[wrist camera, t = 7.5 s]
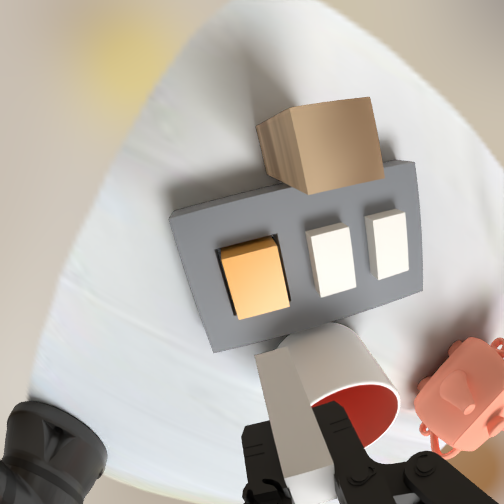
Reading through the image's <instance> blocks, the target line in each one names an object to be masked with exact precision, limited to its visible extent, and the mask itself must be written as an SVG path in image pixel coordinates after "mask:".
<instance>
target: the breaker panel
mask: <svg viewBox="0 0 504 504" xmlns="http://www.w3.org/2000/svg"><path fill="white" fill-rule="evenodd" d="M383 168H384V175H385V178H384V179H379V180H374V181H370V182H365V183H360V184H356V185H351V186H346V187H342V188H337V189H333V190H328V191H324V192H320V193H315V194H311V195H307V194H305V193H303V192H301V191H299V190H297V189H295V188H293V187H291V186H289V185H287V184H285V183H281V184H277V185H273V186H268V187H264V188H260V189H256V190H252V191H248V192H244V193H240V194H236V195H232V196H228V197H224V198H220V199H216V200H212V201H209V202H205V203H201V204H197V205H194V206H190V207H186V208H183V209H179V210H176V211H173V213H172V214H171V216H170V218H169V222H170V225H171V228H172V232H173V235H174V238H175V241H176V245H177V248H178V251H179V254H180V257H181V260H182V264H183V267H184V270H185V273H186V276H187V279H188V282H189V285H190V288H191V291H192V294H193V297H194V300H195V303H196V306H197V308H198V311H199V314H200V317H201V320H202V323H203V325H204V328H205V331H206V334H207V337H208V339H209V342H210V345H211V347H212V350H213V353H216V352H221V351H225V350H229V349H234V348H238V347H242V346H246V345H250V344H254V343H258V342H262V341H266V340H269V339H273V338H277V337H281V336H284V335H288V334H292V333H295V332H299V331H302V330H306V329H309V328H313V327H316V326H319V325H323V324H326V323H329V322H333V321H336V320H339V319H342V318H345V317H348V316H352V315H355V314H358V313H361V312H364V311H367V310H370V309H373V308H376V307H379V306H382V305H385V304H387V303H390V302H393V301H396V300H399V299H401V298H404V297H407V296H410V295H412V294H415V293H418V292H420V291H423V259H422V233H421V217H420V205H419V194H418V184H417V176H416V168H415V162H410V161H402V160H393V161H388V162H383ZM272 234H273V237H274V241H275V243H276V245H277V248H278V253H279V257H280V262H281V267H282V271H283V276H284V281H285V285H286V290H287V295H288V300H289V305H290V307H287V308H283V309H279V310H276V311H272V312H268V313H264V314H261V315H257V316H253V317H249V318H245V319H241V320H239V319H238V316H237V312H236V309H235V306H234V302H233V299H231V295H230V292H229V288H228V285H227V282H226V278H225V275H224V271H223V268H222V264H221V261H220V257H219V253H218V250H217V249H218V248H222V247H226V246H230V245H233V244H237V243H241V242H245V241H249V240H253V239H257V238H261V237H265V236H269V235H272Z"/></svg>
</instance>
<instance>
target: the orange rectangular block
mask: <svg viewBox="0 0 504 504" xmlns="http://www.w3.org/2000/svg"><path fill="white" fill-rule="evenodd" d="M221 260H222V264H223V267H224V271H225V275H226V278H227V281H228V285H229V288H230V292H231V295H232V299H233V302H234V306H235V309H236V312H237V316H238V319H239V320H241V319H245V318H249V317H253V316H257V315H261V314H264V313H268V312H272V311H276V310H279V309H283V308H287V307H290V305H289V300H288V295H287V290H286V285H285V281H284V276H283V271H282V267H281V262H280V257H279V253H278V248H277V245H276V243H275V242H274V240H273V238H272V237H271V235H269V236H265V237H261V238H257V239H253V240H249V241H245V242H241V243H237V244H233V245H230V246H226V247H222V248H221Z"/></svg>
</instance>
